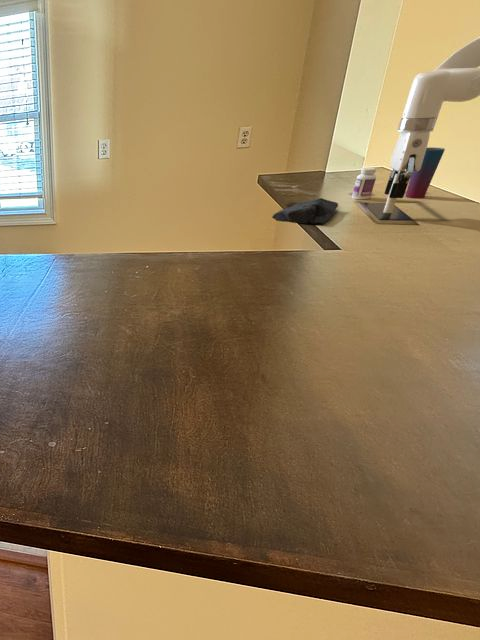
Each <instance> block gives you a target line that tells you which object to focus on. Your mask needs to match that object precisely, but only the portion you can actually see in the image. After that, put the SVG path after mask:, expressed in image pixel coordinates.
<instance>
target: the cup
mask: <svg viewBox="0 0 480 640" xmlns="http://www.w3.org/2000/svg"><path fill="white" fill-rule="evenodd" d="M444 153H445V148H444V147H431V146H430V147H427V149H426V152H425V156H424V159H423V162H422V166H421V169H420V170H419V171H417V172H415V171H413V174H412V175H411V177H410V180H409V183H408V185H407V188H406V191H405V197H406V198H410V199H423V198H425V196H426V194H427V192H428V189H429V187H430V185H431V183H432V181H433V178H434V176H435V173H436V171H437V169H438V166H439V164H440V162H441V160H442V158H443V155H444Z"/></svg>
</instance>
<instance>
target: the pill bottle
mask: <svg viewBox="0 0 480 640" xmlns="http://www.w3.org/2000/svg"><path fill="white" fill-rule="evenodd" d="M376 171H377V168H376V167H362V168H361V169H360V174H358V175H357V176H356V180H355V183H354V186H353V190H352V194H351V198H352V199H354V200H369V199H370V198H371V196H372V193H373V190H374V186H375V183H376V179H377V176H376Z"/></svg>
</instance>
